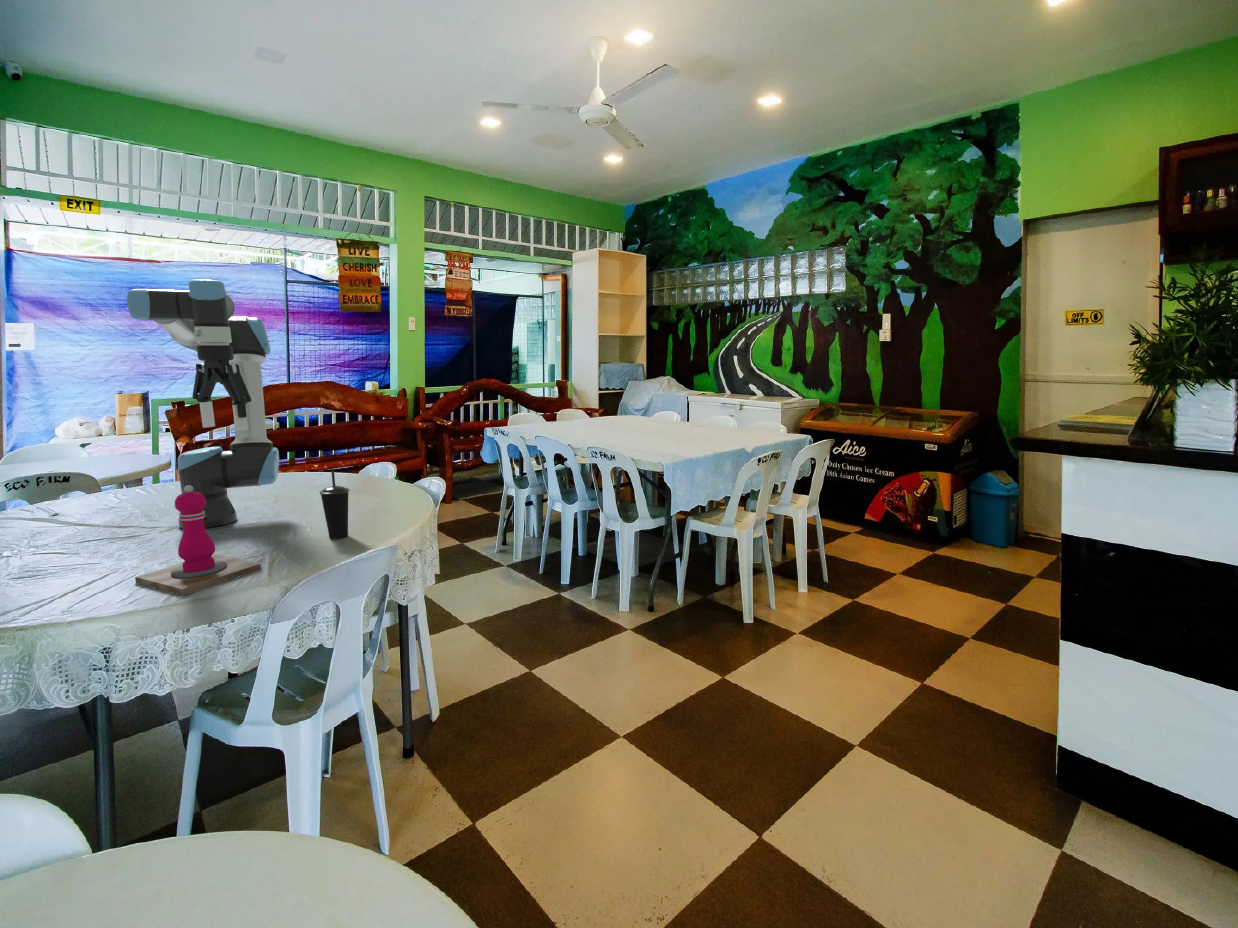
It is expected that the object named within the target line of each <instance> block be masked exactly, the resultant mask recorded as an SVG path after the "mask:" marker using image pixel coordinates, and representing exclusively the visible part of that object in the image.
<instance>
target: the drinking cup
mask: <svg viewBox="0 0 1238 928" xmlns="http://www.w3.org/2000/svg"><path fill="white" fill-rule="evenodd" d="M330 472H331V482H332V483H331V484H332V485H330V486H328V487H325V488H324V489H321V490H320V491H319V495H320V496H321V503H322V507H323V512H324V517H325V522H326V527H327V532H328V538H329V539H330V540H341V539H345V538H347V537H349V492H350V489H349V488H348V487H345V486H341V485H336V479H335V478H336V477H335V468H333V467H332V468H330Z"/></svg>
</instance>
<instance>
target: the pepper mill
mask: <svg viewBox="0 0 1238 928" xmlns="http://www.w3.org/2000/svg"><path fill="white" fill-rule="evenodd" d="M184 491H185V493H182V492H181V493H180V494H179V495H177V496H176V498H175V500H174V507H175V509H176V510H177V511H178V512H179V514H178V519H180V520H181V521H182V523H183V528H182V529H183V530H182V536H181V538H180V541H179V544H178V548H177V552H178V553H177V556H178V557H179V558H181V559H182V560H183V562H182V565H183V571H185V572H199V571H204V570H208V569H210V568H212V567H214V566H215V561H214V558H213V557H211V556H212V555H213V554H215V551H216V545H215V542H214V540H213V539H212V537H211V536H210V535H209V533H208V532H207V528H205V526H204V517H205V511H203V509H204V507H205V506H206V499H205V497H204V496H203V495H202V494H201V493H199V492H194V491H193V487H192V486H191V485H187V486H185V488H184ZM179 516H180V518H179Z"/></svg>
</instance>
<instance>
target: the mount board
mask: <svg viewBox="0 0 1238 928" xmlns="http://www.w3.org/2000/svg"><path fill="white" fill-rule="evenodd" d="M211 557H213V558H214V561H215V566H214V567H212V568H210V569H208V570H204V571H199V572H185V571H183V565H182V563H183V562H182V563H179V564H175V565H171V566H167V567H165V568H161V569H157V570H154V571H150V572H147V573H144V574H140V575H137V576H135V577H134V579H135V584H137V583H139V584H138V585H141V584H142V585H141V586H145V587H149V586H151V587H150V588H152V587H155V588H154V589H156V588H157V589H156V590H160V589H161V591H165V592H168V593H171V592H174V593H173V594H175V593H178V594H177V595H179V594H181V595H180V596H183V595H184V596H186V595H185V594H187V595H189V594H188V593H190V592H193V593H195V592H198V591H197V590H199V591H201V590H200V589H202V590H204V589H203V588H205V589H207V588H206V587H208V588H210V587H209V586H211V587H213V586H217V585H219V584H221V583H220V582H222V583H224V582H223V581H225V580H228V581H231V580H234V579H236V578H235V577H237V578H239V577H238V576H240V577H242V576H241V575H243V576H245V575H244V574H246V575H248V574H251V573H254V571H255V572H258V571H260V570H259V569H261V570H262V565H261V563H259V562H254V561H251V560H245V559H240V558H235V557H231V556H227V555H222V554H217V553H213V555H212V556H211ZM257 570H258V571H257ZM233 578H234V579H233ZM230 579H231V580H230ZM225 582H226V581H225ZM218 583H219V584H218ZM190 594H191V593H190Z"/></svg>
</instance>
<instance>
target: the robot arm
mask: <svg viewBox="0 0 1238 928" xmlns="http://www.w3.org/2000/svg"><path fill="white" fill-rule="evenodd" d="M225 287H226V286H225V284H224V282H223V281H220V280H216V279H215V280H213V279H191V280H189V281H188V290H185V289H184V290H182V289H180V290H179V289H178V290H177V289H176V290H175V289H155V288H154V289H153V288H152V289H151V288H149V289H148V288H133V289H129V290H128V292H127V295H126V304H127V308H128V311H129V314H130V316H131V318H133V319H135V320H136V321H137V320H138V321H145V322H147V321H153V322H155V323H156V324H157V325H158V326H160V327H161V328H163V329H164V330H165V331H167V332H168V333H169V335H170V337H171V339H173V341H174V342H175V343H177V344H178V345H181V346H182V347H184V348H186V349H189V350H191V351H195V352H196V353H197V358H198V360H199V361H201V362H202V361H203V362H202V363H196V364H195V378H194V384H193V389H192V395H191V397H192V399H193V400H196V401H197V402H198V403H199V411H200V418H201V423H202V428H205V429H206V428H213V427H216V423H215V422H216V421H215V414H214V407H213V406H214V405H213V402H212V401H213V399H212V398H211V397H212V394H213V392H214V389H215V387H216V384H217V383H219V384H220V385H222V386H223V387H224V389H225V391H226V392H227V394H228V395H229V397H230V399H231V400H232V403H231V404H232V412H233V423H234V426H233V427H234V438H235V439H234V440H233V441H232V442H231V443H230V444H229V446H230V447H229V448H230V450H223V448H222V447H221V446H218V445H217V446H211V447H210V446H209V447H204V448H203V447H202V448H198V449H193V450H189V451H188V450H187V451H185V452H183V453H181V454H179V455H178V457H177V471H178V477H179V483H180V484H179V485H180V492H181V494H182V493H185V491H184V488H185V486H187V485H191V486H192V487H193V491H194V492H199V493H201V494H202V495H203V496H204V497H205V499H206V506H205V507H204V509H203V511H205V517H204V526H205V529H210V528H209V527H211V528H215V527H214V526H217V527H220V526H219V525H222V526H224V525H230V524H231V523H234V522H235V521H238V514H237V512H236V509H235V507H234V506H233V503H232V502H231V500H230V498H229V496H228V489H233V488H234V489H235V488H246V487H261V486H266V485H269V486H270V485H273V484H274V483H276V482H277V479H278V475H279V469H280V465H279V464H280V455H279V454H280V452H279V449H278V448H277V447H274V445H273V441H271V440H270V439H268V436H267V425H266V422H267V421H266V413H265V412H266V411H265V399H264V389H263V388H264V384H263V376H262V364H264V363H265V361H267V358H266V357H267V356H266V355H269V354H271V345H270V341H269V337H268V333H267V329H266V327H265V324H264V321H263V320H262V319H260V318H258V317H251V316H234V314H235V311H236V307H235V305H236V304H235V303H234V301H233V299H232V298H231V297H230V296H229V295H228V294H227V291H226V288H225ZM179 518H180V516H179V515H178V527H179V528H180V529H183V523H182V521H181V520H180V519H179Z"/></svg>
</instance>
